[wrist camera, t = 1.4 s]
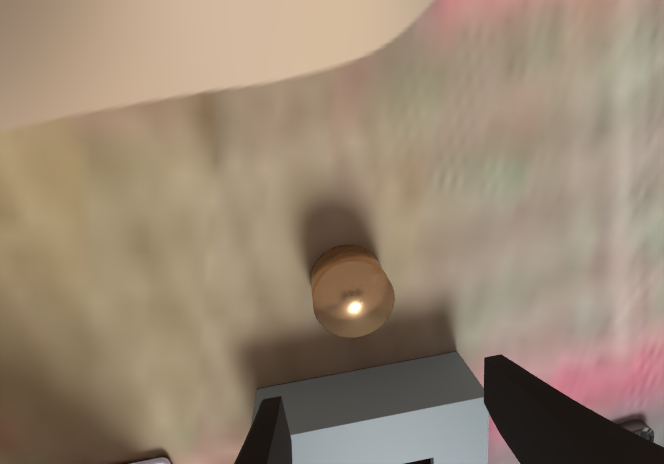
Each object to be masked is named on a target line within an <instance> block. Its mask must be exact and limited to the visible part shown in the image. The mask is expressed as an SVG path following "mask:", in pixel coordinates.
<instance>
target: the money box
mask: <svg viewBox="0 0 664 464" xmlns="http://www.w3.org/2000/svg"><path fill="white" fill-rule="evenodd" d="M278 396H281V397H282V401H283V406H284V410H285V414H286V419H287V423H288V427H289V431H290V436H291V440H292V464H404V463H409V462H414V461H419V460H424V459H429V458H430V463H431V464H488V426H489V412H488V410H487V408H486V406H485V404H484V388H483V387H482V385H481V384H480V383H479V381H478V380H477V378H476V377H475V376H474V374H473V373H472V371H471V370H470V369H469V367H468V366H467V364H466V363H465V362H464V360H463V359H462V357H461V356H460V355H459V353H458V352H452V353H446V354H441V355H436V356H430V357H425V358H420V359H414V360H409V361H404V362H398V363H393V364H388V365H382V366H377V367H372V368H367V369H361V370H356V371H351V372H345V373H340V374H335V375H329V376H324V377H319V378H313V379H308V380H303V381H297V382H292V383H287V384H282V385H276V386H271V387H266V388H260V389H257V391H256V398H255V405H254V412H253V418H252V424H253V421H254V419H255V416H256V414H257V411H258V409H259V406H260V403H261V402H262V400H263V399H267V398H273V397H278ZM251 426H252V425H251Z"/></svg>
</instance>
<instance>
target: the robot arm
mask: <svg viewBox="0 0 664 464" xmlns="http://www.w3.org/2000/svg"><path fill="white" fill-rule="evenodd" d="M484 404H485V406H486V408H487V410H488V412H489V414H490V416H491V418H492V420H493V422H494V423H495V425H496V427H497V429H498V431H499V432H500V434H501V436H502V437H503V439H504V440H505V442H506V443H507V445H508V446H509V448H510V449H511V450H512V452H513V453H514V455H515V456H516V458H517V459H518V461H519V462H520V464H664V447H662V446H660V445H657V444H655V443H653V442H651V441H649V440H647V439H645V438H643V437H641V436H639V435H637V434H635V433H633V432H631V431H629V430H627V429H625V428H623V427H621V426H619V425H617V424H615V423H613V422H612V421H610V420H608V419H606V418H604V417H602V416H601V415H599V414H597V413H595V412H594V411H592V410H590V409H588V408H586V407H585V406H583V405H581V404H580V403H578V402H576V401H574V400H573V399H571V398H569V397H568V396H566V395H564V394H563V393H561V392H560V391H558V390H556V389H555V388H553V387H551V386H550V385H548V384H547V383H545V382H544V381H542V380H540V379H539V378H537V377H536V376H534V375H533V374H531V373H529V372H528V371H526V370H525V369H523V368H522V367H520V366H519V365H517V364H516V363H514V362H512V361H511V360H509V359H508V358H506V357H504V356H503V355H496V356H490V357H485V360H484ZM130 464H170V461H169V460H168V459H167V458H164V457H161V458H156V459H151V460H146V461H140V462H135V463H130ZM234 464H292V440H291V436H290V431H289V427H288V423H287V419H286V414H285V410H284V406H283V401H282V397H281V396H278V397H273V398H267V399H263V400H262V402H261V403H260V406H259V409H258V411H257V414H256V416H255V419H254V421H253V424H252V426H251V428H250V431H249V433H248V435H247V438H246V440H245V442H244V444H243V446H242V448H241V450H240V452H239V455H238V457H237V459H236V461H235V463H234Z"/></svg>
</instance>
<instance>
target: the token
mask: <svg viewBox="0 0 664 464" xmlns="http://www.w3.org/2000/svg"><path fill="white" fill-rule="evenodd" d="M311 288H312V298H313V308H314V313H315V316H316V318H317V320H318V321H319V323H320V324H321V325H322V326H323V327H324V328H325V329H326V330H327V331H329V332H330V333H332V334H335V335H337V336H341V337H348V338H354V337H360V336H364V335H367V334H370V333H372V332H374V331H375V330H377V329H378V328H379V327H381V326H382V325H383V324H384V323H385V322H386V320H387V319H388V318H389V316H390V314H391V312H392V310H393V306H394V300H395V297H394V290H393V287H392V285H391V283H390V281H389V279H388V277H387V276H386V274H385V273H384V271H383V269H382V268H381V266H380V264H379V263H378V261H377V260H376V258H375V257H374V256H373V255H372V254H371V253H370V252H369V251H367V250H366V249H364V248H362V247H359V246H354V245H342V246H338V247H335V248H332V249H330V250H328V251H327V252H325V253H324V254H323V255H322V256H321V257H320V258H319V259H318V260H317V262H316V263H315V265H314V267H313V270H312V273H311Z"/></svg>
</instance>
